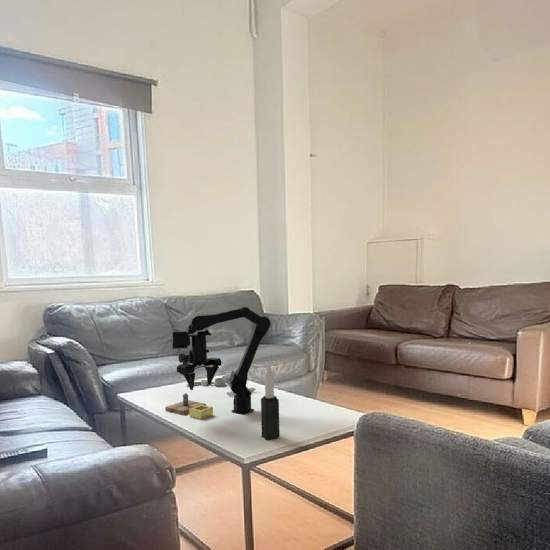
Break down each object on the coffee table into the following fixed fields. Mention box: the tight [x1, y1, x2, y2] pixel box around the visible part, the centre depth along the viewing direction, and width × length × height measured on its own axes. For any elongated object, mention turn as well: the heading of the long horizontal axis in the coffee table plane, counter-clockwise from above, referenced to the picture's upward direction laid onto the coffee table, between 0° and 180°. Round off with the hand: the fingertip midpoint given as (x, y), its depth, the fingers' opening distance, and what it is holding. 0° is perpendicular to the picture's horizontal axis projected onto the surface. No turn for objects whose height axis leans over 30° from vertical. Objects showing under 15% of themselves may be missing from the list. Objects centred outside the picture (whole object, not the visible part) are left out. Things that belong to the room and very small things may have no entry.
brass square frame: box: [188, 405, 214, 420], centre depth 187 cm, size 6×6×3 cm
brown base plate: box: [164, 392, 207, 416], centre depth 197 cm, size 11×12×6 cm
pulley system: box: [186, 374, 231, 388], centre depth 239 cm, size 27×5×15 cm
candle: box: [260, 362, 281, 441], centre depth 161 cm, size 5×5×25 cm
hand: (200, 387), depth 187 cm, fingers open, 9 cm apart
